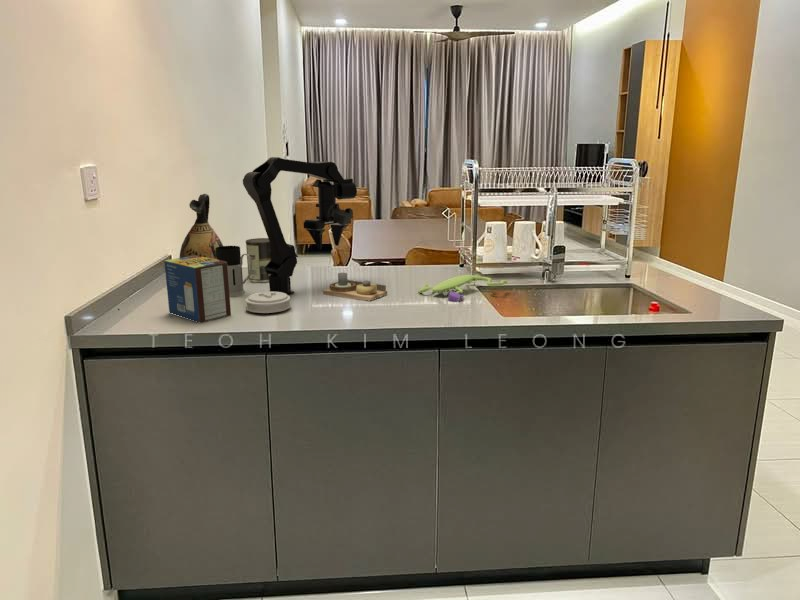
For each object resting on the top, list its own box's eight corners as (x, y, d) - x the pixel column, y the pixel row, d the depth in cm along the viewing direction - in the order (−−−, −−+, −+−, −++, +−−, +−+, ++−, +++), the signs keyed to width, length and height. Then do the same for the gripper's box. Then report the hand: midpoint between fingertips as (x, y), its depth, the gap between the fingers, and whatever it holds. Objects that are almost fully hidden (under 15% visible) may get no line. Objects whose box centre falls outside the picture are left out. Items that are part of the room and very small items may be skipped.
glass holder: (231, 289, 201) (228, 244, 198) (263, 294, 194) (260, 248, 191) (211, 294, 194) (207, 248, 190) (243, 300, 187) (240, 252, 183)
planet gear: (345, 291, 193) (344, 276, 192) (331, 289, 196) (331, 274, 194) (354, 287, 198) (353, 272, 196) (340, 286, 200) (340, 271, 199)
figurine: (513, 296, 194) (514, 279, 193) (441, 305, 182) (442, 287, 181) (480, 284, 210) (481, 268, 209) (412, 292, 198) (412, 276, 197)
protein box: (200, 306, 181) (196, 254, 177) (231, 315, 171) (227, 261, 167) (168, 313, 173) (163, 260, 169) (199, 323, 163) (194, 267, 159)
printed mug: (280, 276, 221) (278, 237, 217) (274, 282, 211) (271, 242, 207) (252, 276, 221) (249, 237, 218) (244, 282, 211) (241, 242, 208)
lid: (244, 306, 181) (242, 290, 179) (286, 303, 185) (285, 287, 184) (249, 318, 169) (248, 300, 168) (294, 313, 173) (293, 296, 172)
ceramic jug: (219, 285, 207) (213, 196, 200) (174, 284, 208) (166, 196, 200) (234, 274, 224) (228, 192, 216) (192, 274, 224) (185, 192, 216)
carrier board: (369, 301, 186) (369, 286, 185) (323, 294, 195) (322, 280, 194) (387, 294, 194) (387, 280, 193) (341, 287, 203) (341, 274, 202)
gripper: (329, 204, 188) (330, 253, 192) (363, 199, 204) (364, 245, 208) (301, 202, 194) (303, 250, 198) (336, 198, 209) (337, 242, 213)
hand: (328, 247), depth 204 cm, fingers open, 9 cm apart
